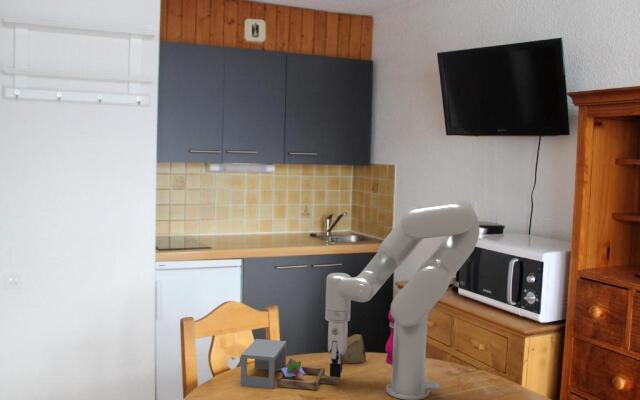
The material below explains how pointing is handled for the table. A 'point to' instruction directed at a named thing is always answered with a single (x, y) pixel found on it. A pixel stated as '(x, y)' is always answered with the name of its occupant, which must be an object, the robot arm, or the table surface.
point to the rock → (354, 350)
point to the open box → (263, 362)
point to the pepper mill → (390, 341)
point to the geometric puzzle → (293, 370)
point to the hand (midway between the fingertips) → (335, 373)
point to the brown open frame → (308, 384)
